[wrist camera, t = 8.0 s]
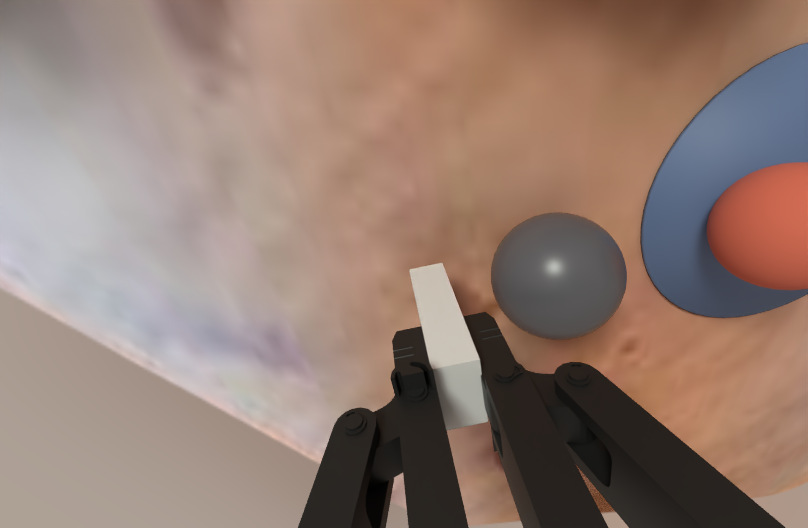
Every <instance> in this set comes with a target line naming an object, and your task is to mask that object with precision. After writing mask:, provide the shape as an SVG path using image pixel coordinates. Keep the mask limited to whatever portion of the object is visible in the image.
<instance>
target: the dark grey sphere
mask: <svg viewBox="0 0 808 528" xmlns="http://www.w3.org/2000/svg"><path fill="white" fill-rule="evenodd" d="M626 281H627V271H626V266H625V261H624V258H623V255H622V252H621V250H620V249H619V247H618V245H617V243H616V242H615V241H614V239H613V238H612V237H611V236H610V235H609V233H608V232H607V231H606V230H604V229H603V228H602V227H600V226H599V225H598V224H596V223H594V222H593V221H591V220H588V219H586V218H584V217H581V216H578V215H574V214H569V213H548V214H542V215H539V216H535V217H532V218H530V219H528V220H526V221H524V222H522V223H521V224H519V225H517V226H516V227H515V228H513V229H512V230H511V231H510V232H509V233H508V234H507V235H506V236H505V238H504V239H503V240H502V242H501V243H500V245H499V246H498V248H497V250H496V253H495V255H494V259H493V262H492V267H491V284H492V289H493V293H494V296H495V299H496V301H497V303H498V305H499V306H500V308H501V310H502V311H503V312H504V314H505V315H506V316H507V317H508V318H509V319H510V320H511V321H512V322H513V323H514V324H515V325H517V326H518V327H520V328H521V329H523V330H524V331H526V332H528V333H530V334H533V335H536V336H538V337H542V338H547V339H554V340H564V339H572V338H577V337H581V336H584V335H586V334H588V333H590V332H593V331H595V330H596V329H598V328H599V327H601V326H602V325H603V324H604V323H606V322H607V321H608V320H609V319H610V318H611V317H612V315H613V314H614V313H615V312H616V310H617V309H618V307H619V305H620V303H621V301H622V298H623V295H624V293H625V288H626Z"/></svg>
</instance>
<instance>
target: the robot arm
mask: <svg viewBox="0 0 808 528" xmlns="http://www.w3.org/2000/svg"><path fill="white" fill-rule="evenodd" d="M409 271H410V275H411V280H412V285H413V290H414V295H415V299H416V304H417V309H418V314H419V318H420V323H421V326H420V327H416V328H411V329H406V330H401V331H397V332H396V334H395V336H394V338H393V340H392V343H393V351H394V352H393V353H394V363H395V369H394V370H393V371H392V374H391V382H392V385H393V389H394V393H395V396H394V398H393V399H392V401H391V402H390V403H388V404H387V405H386V406H384V407H383V408H381V409H379V410H377V411H375V412H372V411H370V410H369V409H366V408H355V409H351V410H349V411H347V412H345V413H344V414H343V415H341V416H340V417H339V418H338V420H337V421H336V423H335V425H334V427H333V430H332V433H331V436H330V439H329V442H328V444H327V447H326V450H325V453H324V456H323V458H322V461H321V464H320V467H319V470H318V473H317V475H316V479H315V481H314V484H313V487H312V490H311V492H310V495H309V498H308V501H307V504H306V507H305V510H304V513H303V515H302V518H301V521H300V523H299V526H298V528H386V522H387V517H388V511H389V505H390V500H391V494H392V488H393V482H394V477H395V476H397V475H399V474H401V473H403V474H404V484H405V494H406V505H407V515H408V525H409V528H469V527H468V523H467V519H466V514H465V510H464V505H463V501H462V497H461V492H460V488H459V484H458V479H457V475H456V470H455V466H454V462H453V457H452V453H451V448H450V444H449V440H448V435H447V431H446V430H451V429H456V428H461V427H466V426H470V425H475V424H480V423H485V422H488V418H489V421H490V424H491V430H492V438H493V446H494V452H495V451H498V454H499V457H500V460H501V463H502V466H503V469H504V472H505V475H506V478H507V481H508V484H509V487H510V490H511V492H512V495H513V498H514V501H515V504H516V507H517V510H518V513H519V516H520V519H521V522H522V524H523V528H608V526H607V524H606V522H605V520H604V518H603V516H602V514H601V513H600V511H599V509H598V507H597V505H596V503H595V501H594V499H593V497H592V495H591V493H590V492H589V490H588V488H587V486H586V484H585V482H584V480H583V478H582V476H581V474H580V472H579V470H578V469H577V467H576V465H577V466H578V467H579V468H580V470H581V471H582V472H583V473H584V474H585V476H586V477H587V478H588V479H589V480H590V482H591V483H592V484H593V485H594V486H595V487H596V489H597V490H598V491H599V492H600V493H601V495H602V496H603V497H604V498H605V499H606V501H607V502H608V503H609V504H610V505H611V507H612V508H613V509H614V510H615V511H616V512H617V514H618V515H619V516H620V517H621V518H622V520H623V521H624V522H625V523H626V524H627V525H628V527H629V528H785V527H784V526H783V525H782V524H781V523H779V522H778V521H777V520H776V519H775V518H773V517H772V516H771V515H770V514H769V513H767V512H766V511H765V510H764V509H763V508H761V507H760V506H759V505H758V504H757V503H755V502H754V501H753V500H752V499H751V498H750V497H748V496H747V495H746V494H745V493H744V492H742V491H741V490H740V489H739V488H738V487H736V486H735V485H734V484H733V483H732V482H730V481H729V480H728V479H727V478H726V477H724V476H723V475H722V474H721V473H720V472H718V471H717V470H716V469H715V468H714V467H712V466H711V465H710V464H709V463H708V462H707V461H705V460H704V459H703V458H702V457H701V456H699V455H698V454H697V453H696V452H695V451H693V450H692V449H691V448H690V447H689V446H687V445H686V444H685V443H684V442H683V441H681V440H680V439H679V438H678V437H677V436H675V435H674V434H673V433H672V432H671V431H669V430H668V429H667V428H666V427H665V426H664V425H662V424H661V423H660V422H659V421H658V420H656V419H655V418H654V417H653V416H652V415H650V414H649V413H648V412H647V411H646V410H644V409H643V408H642V407H641V406H640V405H638V404H637V403H636V402H635V401H634V400H632V399H631V398H630V397H629V396H628V395H626V394H625V393H624V392H623V391H622V390H621V389H619V388H618V387H617V386H616V385H615V384H613V383H612V382H611V381H610V380H609V379H607V378H606V377H605V376H604V375H603V374H601V373H600V372H599V371H598V370H597V369H595V368H593V367H592V366H590V365H588V364H584V363H581V362H569V363H565V364H562V365H561V366H559V367H558V368H557V370H556V371H555V373H554V374H540V373H534V372H530V371H527V370H525V368H524V367H523V366H522V365H520V364H518V363H517V362H516V360H515V358H514V356H513V355H512V353H511V351H510V349H509V347H508V345H507V343H506V341H505V339H504V337H503V336H502V333H501V331H500V329H499V327H498V325H497V323H496V321H495V319H494V318H493V317H491V316H490V315H489V314H487V313H486V312H483V313H478V314H473V315H468V316H464V317H463V315H462V312H461V310H460V307H459V305H458V302H457V300H456V297H455V295H454V292H453V289H452V287H451V284H450V282H449V279H448V277H447V274H446V272H445V269H444V266H443V264H442V263H438V264H434V265H429V266H424V267H419V268H415V269H410V270H409ZM487 415H488V417H487ZM575 464H576V465H575Z"/></svg>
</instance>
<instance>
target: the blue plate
mask: <svg viewBox="0 0 808 528" xmlns="http://www.w3.org/2000/svg"><path fill="white" fill-rule="evenodd" d="M794 162H808V43H805V44H801V45H798V46H795V47H793V48H790V49H788V50H785V51H783V52H781V53H778V54H776V55H774V56H772V57H770V58H768V59H767V60H765V61H763V62H761V63H759V64H758V65H756V66H754V67H752V68H751V69H750V70H748V71H747V72H745V73H744V74H742V75H741V76H739V77H738V78H736V79H735V80H734V81H732V82H731V83H730V84H729V85H727V86H726V87H725V88H724V89H723V90H722V91H720V92H719V93H718V94H717V95H716V96H714V97H713V98H712V99H711V100H710V101H709V102H708V103H707V104H706V105H705V106H704V107H703V108H702V109H701V110H700V111H699V112H698V113H697V114H696V115H695V117H694V118H693V119H692V120H691V122H690V123H689V124H688V125H687V126H686V128H685V129H684V130H683V131H682V132H681V134H680V135H679V137H678V138H677V140H676V141H675V143H674V144H673V145H672V147H671V148H670V150H669V151H668V153H667V155H666V157H665V158H664V160H663V162H662V164H661V166H660V168H659V169H658V171H657V173H656V176H655V178H654V181H653V183H652V185H651V188H650V190H649V193H648V197H647V200H646V204H645V207H644V211H643V218H642V224H641V249H642V256H643V260H644V264H645V267H646V270H647V272H648V274H649V276H650V278H651V280H652V282H653V284H654V285H655V286H656V287H657V289H658V290H659V291H660V292H661V293H662V294H663V295H664V296H665V297H666V298H667V299H669V300H670V301H671V302H672V303H674V304H676V305H677V306H679V307H681V308H682V309H684V310H687V311H690V312H692V313H695V314H699V315H704V316H708V317H721V318H725V317H740V316H747V315H753V314H757V313H761V312H765V311H769V310H771V309H774V308H777V307H780V306H783V305H785V304H788V303H790V302H792V301H794V300H796V299H799V298H801V297H803V296H805V295H806V294H808V289H801V290H776V289H770V288H765V287H760V286H757V285H754V284H751V283H749V282H746V281H744V280H742V279H740V278H738V277H736V276H735V275H733V274H732V273H730V272H729V271H728V270H726V269H725V268H724V267H723V266H722V265H721V264H720V263H719V262H718V260H717V259H716V258H715V256H714V255H713V253H712V251H711V249H710V246H709V243H708V239H707V222H708V218H709V214H710V212H711V210H712V208H713V206H714V204H715V202H716V201H717V199H718V198H719V197H720V196H721V194H722V193H723V192H724V191H725V190H726V189H727V188H728V187H730V186H731V185H732V184H733V183H735V182H736V181H737V180H739V179H741V178H743V177H744V176H746V175H748V174H750V173H752V172H755V171H757V170H760V169H762V168H765V167H769V166H773V165H778V164H784V163H794Z"/></svg>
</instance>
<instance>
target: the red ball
mask: <svg viewBox="0 0 808 528" xmlns="http://www.w3.org/2000/svg"><path fill="white" fill-rule="evenodd" d="M707 239H708V243H709V246H710V249H711V251H712V253H713V255H714V256H715V258H716V259H717V260H718V262H719V263H720V264H721V265H722V266H723V267H724V268H725V269H726V270H728V271H729V272H730V273H732V274H733V275H735V276H736V277H738V278H740V279H742V280H744V281H746V282H749V283H751V284H754V285H757V286H760V287H765V288H770V289H776V290H801V289H808V162H794V163H784V164H778V165H773V166H769V167H765V168H762V169H760V170H757V171H755V172H752V173H750V174H748V175H746V176H744V177H743V178H741V179H739V180H737V181H736V182H735V183H733V184H732V185H731V186H730V187H728V188H727V189H726V190H725V191H724V192H723V193H722V194H721V196H720V197H719V198H718V199H717V201H716V202H715V204H714V206H713V208H712V210H711V212H710V214H709V218H708V222H707Z"/></svg>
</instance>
